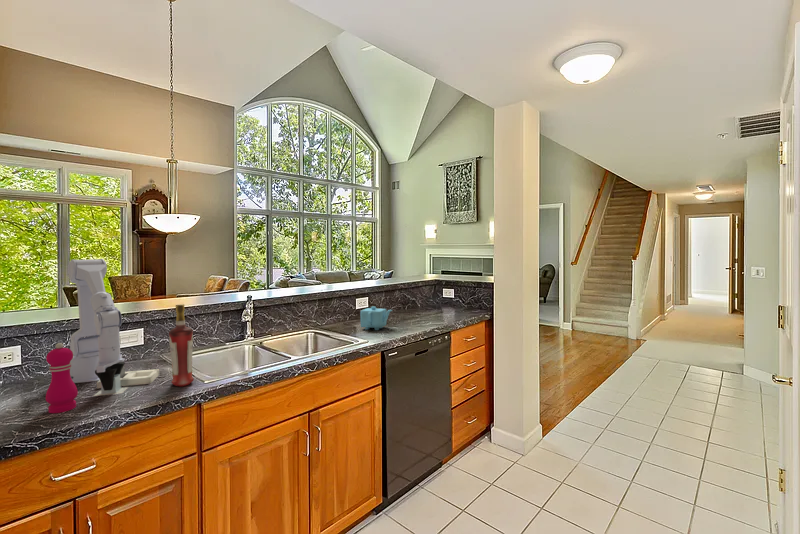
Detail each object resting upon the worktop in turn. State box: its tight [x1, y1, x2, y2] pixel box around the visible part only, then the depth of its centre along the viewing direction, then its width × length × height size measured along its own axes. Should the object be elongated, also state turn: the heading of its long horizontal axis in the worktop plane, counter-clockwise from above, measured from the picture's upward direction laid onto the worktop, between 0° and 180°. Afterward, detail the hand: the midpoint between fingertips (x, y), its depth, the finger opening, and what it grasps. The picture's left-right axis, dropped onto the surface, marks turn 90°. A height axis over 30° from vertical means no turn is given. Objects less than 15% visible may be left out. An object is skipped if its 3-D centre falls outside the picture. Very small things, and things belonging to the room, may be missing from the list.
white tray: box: [96, 365, 160, 389], centre depth 139 cm, size 16×10×6 cm, turn 107°
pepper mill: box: [45, 342, 79, 414], centre depth 115 cm, size 7×7×20 cm
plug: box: [100, 374, 122, 394], centre depth 129 cm, size 4×4×6 cm
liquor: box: [168, 303, 195, 388], centre depth 136 cm, size 7×7×28 cm
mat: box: [93, 386, 129, 397], centre depth 129 cm, size 8×6×1 cm
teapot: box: [360, 305, 393, 331], centre depth 228 cm, size 18×16×13 cm
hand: (111, 387), depth 129 cm, fingers closed on plug, 4 cm apart
